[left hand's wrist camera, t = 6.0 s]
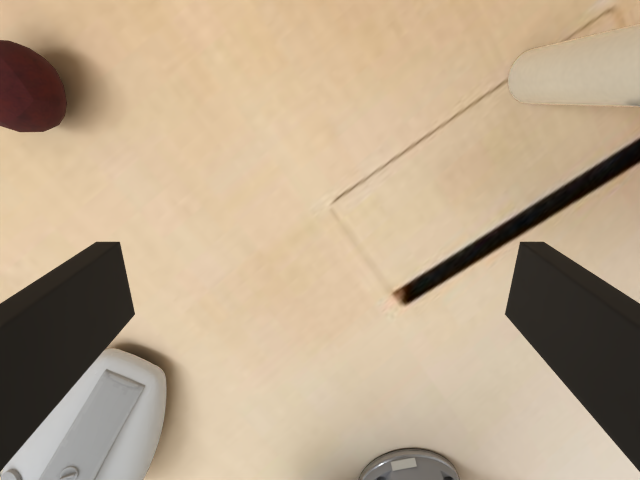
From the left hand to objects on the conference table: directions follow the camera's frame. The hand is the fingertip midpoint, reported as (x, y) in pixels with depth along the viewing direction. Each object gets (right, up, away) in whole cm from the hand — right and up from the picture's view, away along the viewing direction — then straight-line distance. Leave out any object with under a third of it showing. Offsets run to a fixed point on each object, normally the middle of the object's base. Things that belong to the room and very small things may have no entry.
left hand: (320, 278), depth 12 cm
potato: (-27, +16, +24) cm, 39 cm away
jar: (+21, +17, +23) cm, 36 cm away
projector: (-29, -22, +38) cm, 53 cm away
